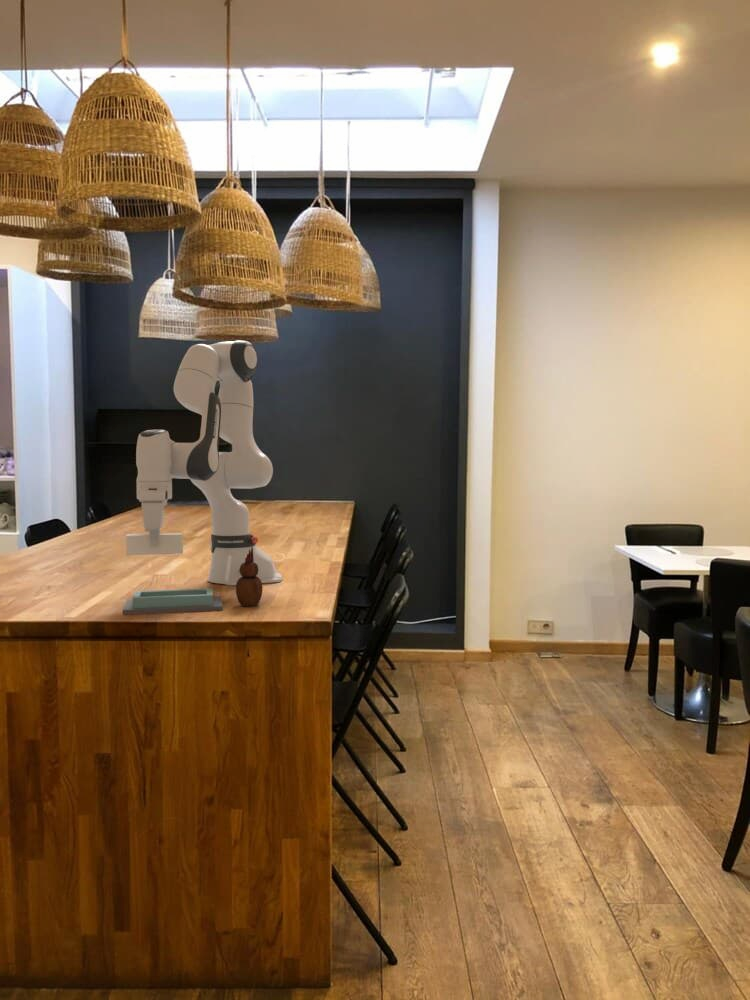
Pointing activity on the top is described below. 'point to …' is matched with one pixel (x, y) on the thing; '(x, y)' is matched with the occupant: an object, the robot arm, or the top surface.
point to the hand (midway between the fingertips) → (155, 545)
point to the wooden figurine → (249, 583)
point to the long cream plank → (142, 546)
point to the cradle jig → (172, 601)
